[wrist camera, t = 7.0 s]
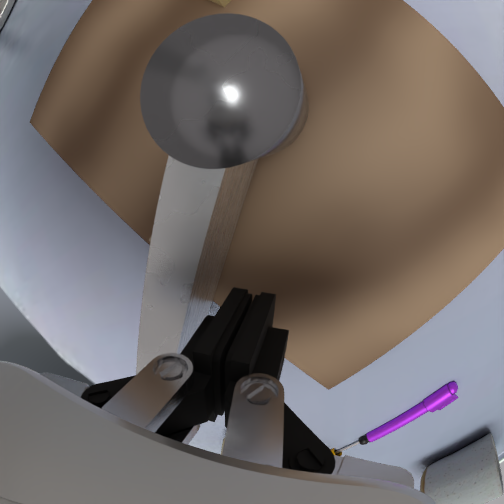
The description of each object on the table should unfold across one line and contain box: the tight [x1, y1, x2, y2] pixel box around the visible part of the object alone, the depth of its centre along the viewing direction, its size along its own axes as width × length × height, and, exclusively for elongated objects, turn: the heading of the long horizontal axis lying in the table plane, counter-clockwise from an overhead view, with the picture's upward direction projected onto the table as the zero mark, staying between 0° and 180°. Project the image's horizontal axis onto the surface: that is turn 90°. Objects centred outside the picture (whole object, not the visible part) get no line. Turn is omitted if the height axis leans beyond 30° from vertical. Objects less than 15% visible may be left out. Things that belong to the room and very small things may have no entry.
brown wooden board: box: [30, 0, 504, 390], centre depth 10 cm, size 24×16×5 cm, turn 50°
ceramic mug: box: [420, 433, 503, 504], centre depth 15 cm, size 11×8×8 cm
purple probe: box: [331, 382, 458, 457], centre depth 18 cm, size 3×1×16 cm
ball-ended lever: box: [136, 13, 309, 375], centre depth 10 cm, size 14×4×4 cm, turn 161°
